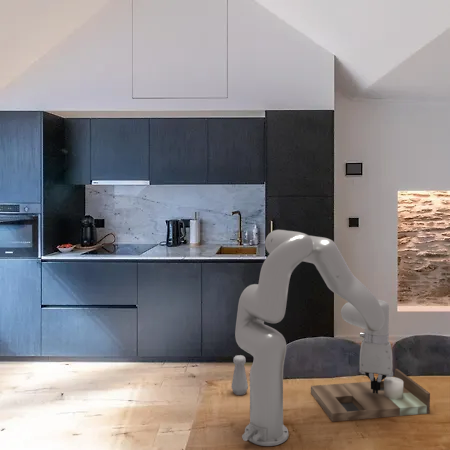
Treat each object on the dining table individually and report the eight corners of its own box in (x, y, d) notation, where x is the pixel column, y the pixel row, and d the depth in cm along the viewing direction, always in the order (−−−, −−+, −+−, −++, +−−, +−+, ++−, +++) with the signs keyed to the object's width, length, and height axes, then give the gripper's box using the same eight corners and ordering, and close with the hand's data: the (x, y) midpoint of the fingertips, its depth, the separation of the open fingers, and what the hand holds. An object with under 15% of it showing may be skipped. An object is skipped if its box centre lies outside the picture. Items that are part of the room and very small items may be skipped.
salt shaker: (248, 396, 158) (248, 359, 157) (231, 396, 158) (231, 359, 157) (247, 389, 163) (247, 353, 162) (231, 389, 164) (231, 353, 163)
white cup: (400, 401, 148) (401, 386, 147) (381, 396, 151) (381, 381, 151) (404, 394, 153) (405, 379, 152) (386, 389, 156) (386, 375, 156)
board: (332, 421, 140) (332, 400, 140) (310, 392, 160) (310, 374, 159) (429, 413, 145) (430, 393, 144) (397, 386, 165) (397, 368, 164)
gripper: (351, 338, 151) (351, 393, 152) (400, 344, 145) (399, 400, 147) (354, 332, 158) (353, 383, 159) (400, 336, 152) (399, 390, 154)
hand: (375, 391), depth 153 cm, fingers closed
